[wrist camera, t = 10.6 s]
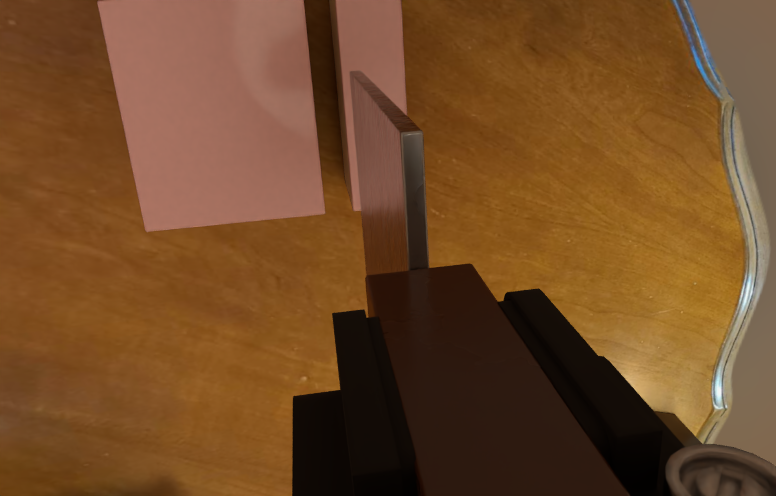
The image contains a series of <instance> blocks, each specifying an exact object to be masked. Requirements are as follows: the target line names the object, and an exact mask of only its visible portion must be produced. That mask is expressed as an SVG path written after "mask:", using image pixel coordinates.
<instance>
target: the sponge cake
mask: <svg viewBox="0 0 776 496" xmlns="http://www.w3.org/2000/svg"><path fill="white" fill-rule="evenodd" d="M97 4H98V8H99V13H100V18H101V23H102V27H103V32H104V37H105V42H106V46H107V51H108V56H109V60H110V65H111V70H112V75H113V79H114V84H115V89H116V94H117V98H118V103H119V108H120V113H121V117H122V122H123V127H124V132H125V136H126V141H127V146H128V150H129V155H130V160H131V165H132V169H133V174H134V179H135V184H136V188H137V193H138V198H139V203H140V207H141V212H142V217H143V222H144V226H145V231H146V232H149V231H159V230H169V229H179V228H189V227H199V226H209V225H219V224H229V223H239V222H249V221H259V220H269V219H279V218H289V217H299V216H310V215H320V214H325V205H324V196H323V186H322V176H321V166H320V156H319V146H318V136H317V127H316V117H315V107H314V97H313V87H312V77H311V67H310V57H309V48H308V38H307V28H306V18H305V8H304V0H101V1H97Z"/></svg>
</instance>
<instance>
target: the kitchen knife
mask: <svg viewBox="0 0 776 496" xmlns="http://www.w3.org/2000/svg"><path fill="white" fill-rule="evenodd" d="M350 85H351V97H352V109H353V121H354V133H355V145H356V156H357V168H358V180H359V192H360V204H361V216H362V228H363V240H364V252H365V264H366V278H365V282H366V293H367V305H368V317H377V316H378V318H379V321H380V325H381V329H382V333H383V336H384V340H385V344H386V347H387V351H388V355H389V359H390V362H391V366H392V370H393V373H394V377H395V381H396V384H397V388H398V392H399V396H400V399H401V403H402V407H403V410H404V414H405V418H406V422H407V425H408V429H409V433H410V436H411V440H412V444H413V448H414V452H415V456H416V460H415V464H414V473H415V481H416V493H417V496H630V495H629V493H628V492H627V490H626V489H625V487H624V486H623V484H622V483H621V481H620V480H619V478H618V477H617V476H616V474H615V473H614V471H613V470H612V468H611V467H610V465H609V464H608V462H607V461H606V459H605V458H604V457H603V455H602V454H601V452H600V451H599V449H598V448H597V446H596V445H595V443H594V442H593V440H592V439H591V438H590V436H589V435H587V433H586V432H585V430H584V429H583V428H582V426H581V425H580V423H579V422H578V420H577V419H576V417H575V416H574V414H573V413H572V411H571V410H570V408H569V407H568V405H567V404H566V403H565V401H564V400H563V398H562V397H561V395H560V394H559V392H558V391H557V389H556V388H555V386H554V385H553V383H552V382H551V381H550V379H549V378H548V376H547V375H546V373H545V372H544V370H543V369H542V367H541V366H540V364H539V363H538V361H537V360H536V359H535V357H534V356H533V354H532V353H531V351H530V350H529V348H528V347H527V345H526V344H525V342H524V341H523V339H522V338H521V337H520V335H519V334H518V332H517V331H516V329H515V328H514V326H513V325H512V323H511V322H510V320H509V319H508V317H507V316H506V314H505V313H504V312H503V310H502V309H501V307H500V306H499V304H498V303H497V302H498V301H497V300H496V299H495V297H494V296H493V294H492V293H491V291H490V290H489V288H488V287H487V285H486V284H485V282H484V281H483V280H482V278H481V277H480V275H479V274H478V272H477V271H476V269H475V268H474V266H473V265H472V264H461V265H453V266H444V267H435V268H429V252H428V230H427V208H426V185H425V163H424V140H423V132H422V130H421V129H420V128H419V127H418V126H417V125H416V124H415V123H414V122H413V121H412V120H411V119H410V118H409V117H407V116H406V115H405V114H404V113H403V112H402V111H401V110H400V109H399V108H398V107H397V106H396V105H395V104H394V103H393V102H392V101H391V100H390V99H389V98H388V97H387V96H386V95H385V94H384V93H383V92H382V91H381V90H380V89H379V88H378V87H377V86H376V85H375V84H374V83H373V82H372V81H371V80H370V79H369V78H368V77H367V76H366V75H365V74H364V73H363V72H362V71H360V70H358V71H350Z"/></svg>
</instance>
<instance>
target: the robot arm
mask: <svg viewBox="0 0 776 496" xmlns="http://www.w3.org/2000/svg"><path fill="white" fill-rule="evenodd" d="M497 303H498V304H499V306H500V307H501V309H502V310H503V312H504V313H505V314H506V316H507V317H508V319H509V320H510V322H511V323H512V325H513V326H514V328H515V329H516V331H517V332H518V334H519V335H520V337H521V338H522V339H523V341H524V342H525V344H526V345H527V347H528V348H529V350H530V351H531V353H532V354H533V356H534V357H535V359H536V360H537V361H538V363H539V364H540V366H541V367H542V369H543V370H544V372H545V373H546V375H547V376H548V378H549V379H550V381H551V382H552V383H553V385H554V386H555V388H556V389H557V391H558V392H559V394H560V395H561V397H562V398H563V400H564V401H565V403H566V404H567V405H568V407H569V408H570V410H571V411H572V413H573V414H574V416H575V417H576V419H577V420H578V422H579V423H580V425H581V426H582V428H583V429H584V430H585V432H586V433H587V435H589V436H590V438H591V439H592V440H593V442H594V443H595V445H596V446H597V448H598V449H599V451H600V452H601V454H602V455H603V457H604V458H605V459H606V461H607V462H608V464H609V465H610V467H611V468H612V470H613V471H614V473H615V474H616V476H617V477H618V478H619V480H620V481H621V483H622V484H623V486H624V487H625V489H626V490H627V492H628V493H629V495H630V496H776V466H774V465H773V464H772V463H770V462H768V461H766V460H764V459H762V458H760V457H758V456H757V455H754V454H753V453H749V452H746V451H743V450H740V449H737V448H734V447H729V446H723V445H716V444H700V445H693V446H689V447H685V446H684V445H683V444H682V443H681V442H680V441H679V439H678V438H677V437H676V436H675V435H674V434H673V433H672V431H671V430H670V429H669V428H668V427H667V426H666V425H665V424H664V422H663V421H662V420H661V419H660V418H659V417H658V416H657V415H656V413H655V412H654V411H653V410H652V409H651V408H650V407H649V405H648V404H647V403H646V402H645V401H644V400H643V399H642V398H641V396H640V395H639V394H638V393H637V392H636V391H635V390H634V389H633V387H632V386H631V385H630V384H629V383H628V382H627V381H626V379H625V378H624V377H623V376H622V375H621V374H620V373H619V372H618V370H617V369H616V368H615V367H614V366H613V365H612V364H611V363H610V361H608V360H607V359H606V358H605V357H603V356H598V355H597V354H596V353H595V352H594V350H593V349H592V348H591V347H590V346H589V345H588V344H587V342H586V341H585V340H584V339H583V338H582V337H581V335H580V334H579V333H578V332H577V331H576V330H575V329H574V327H573V326H572V325H571V324H570V323H569V322H568V320H567V319H566V318H565V317H564V316H563V315H562V314H561V312H560V311H559V310H558V309H557V308H556V307H555V305H554V304H553V303H552V302H551V301H550V300H549V299H548V297H547V296H546V295H545V294H544V293H543V292H542V291H541V290H540V289H531V290H523V291H514V292H507V293H506V294H505V297H504V301H500V302H497ZM332 316H333V325H334V335H335V344H336V353H337V363H338V372H339V381H340V390H336V391H329V392H321V393H314V394H306V395H299V396H294V397H293V478H292V496H417V493H416V481H415V473H414V464H415V460H416V456H415V452H414V448H413V444H412V440H411V436H410V433H409V429H408V425H407V422H406V418H405V414H404V410H403V407H402V403H401V399H400V396H399V392H398V388H397V384H396V381H395V377H394V373H393V370H392V366H391V362H390V359H389V355H388V351H387V347H386V344H385V340H384V336H383V333H382V329H381V325H380V321H379V318H378V316H377V317H368V318H366V314H365V310H355V311H347V312H338V313H332Z"/></svg>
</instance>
